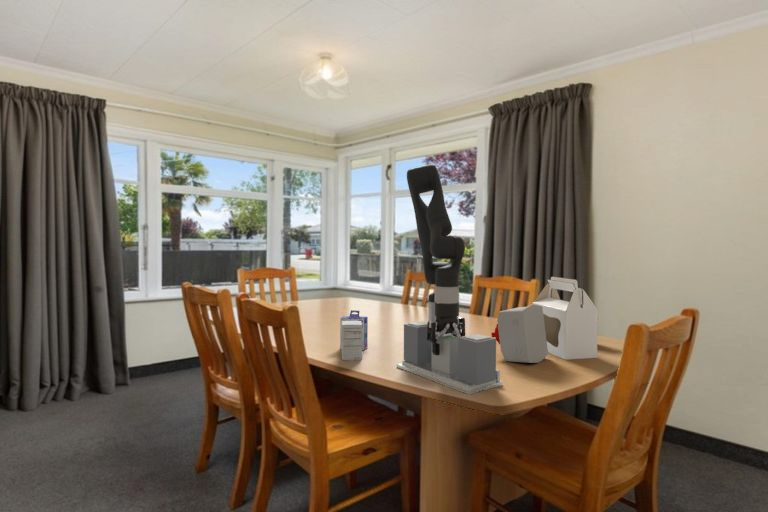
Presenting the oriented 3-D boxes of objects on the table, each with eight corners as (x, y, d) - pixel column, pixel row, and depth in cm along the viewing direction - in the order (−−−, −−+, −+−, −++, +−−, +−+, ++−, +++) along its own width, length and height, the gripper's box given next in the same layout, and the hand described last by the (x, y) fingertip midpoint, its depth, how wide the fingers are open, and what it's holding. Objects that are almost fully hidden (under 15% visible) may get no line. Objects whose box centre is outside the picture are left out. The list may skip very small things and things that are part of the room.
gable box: (531, 345, 177) (532, 276, 176) (560, 344, 180) (561, 275, 179) (565, 360, 155) (566, 281, 154) (597, 358, 158) (599, 280, 157)
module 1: (421, 356, 152) (422, 320, 151) (435, 360, 146) (436, 323, 146) (403, 359, 147) (403, 323, 147) (417, 364, 141) (417, 326, 141)
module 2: (477, 374, 132) (477, 333, 131) (495, 380, 126) (496, 337, 126) (458, 379, 127) (458, 336, 127) (476, 385, 121) (477, 340, 121)
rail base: (428, 360, 154) (428, 349, 154) (502, 385, 128) (502, 371, 128) (396, 367, 145) (396, 355, 145) (469, 394, 120) (469, 380, 119)
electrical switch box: (511, 356, 168) (505, 304, 169) (548, 358, 157) (541, 302, 158) (490, 364, 157) (483, 308, 159) (529, 366, 147) (521, 306, 148)
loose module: (443, 364, 141) (443, 332, 141) (461, 370, 135) (461, 337, 134) (431, 367, 138) (431, 334, 138) (449, 373, 132) (449, 339, 132)
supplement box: (341, 355, 161) (341, 320, 160) (361, 354, 161) (361, 320, 161) (341, 360, 153) (341, 324, 153) (362, 360, 154) (362, 324, 154)
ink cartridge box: (368, 347, 173) (368, 310, 172) (364, 350, 167) (364, 312, 167) (343, 345, 175) (344, 309, 174) (339, 349, 169) (339, 311, 169)
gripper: (454, 297, 143) (453, 347, 144) (421, 301, 135) (420, 353, 135) (471, 300, 137) (471, 352, 138) (438, 304, 129) (437, 359, 129)
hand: (446, 352), depth 136 cm, fingers open, 8 cm apart
